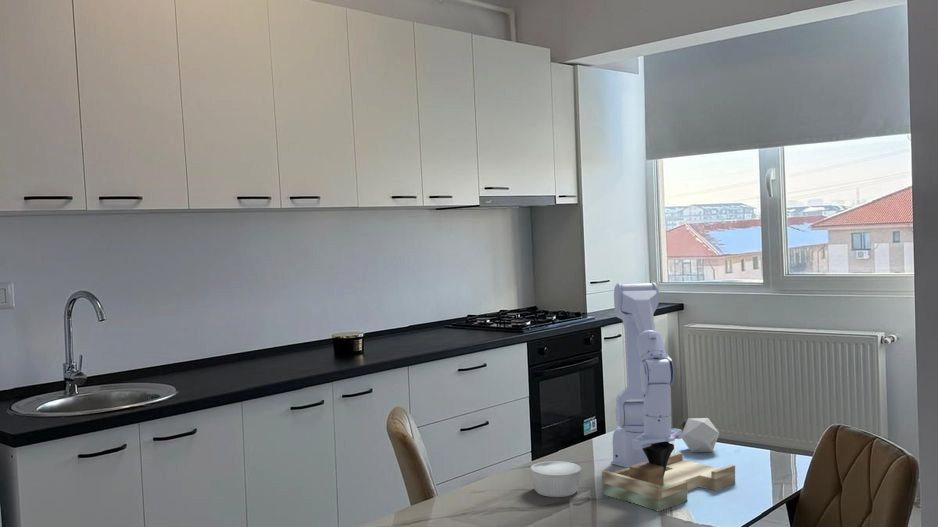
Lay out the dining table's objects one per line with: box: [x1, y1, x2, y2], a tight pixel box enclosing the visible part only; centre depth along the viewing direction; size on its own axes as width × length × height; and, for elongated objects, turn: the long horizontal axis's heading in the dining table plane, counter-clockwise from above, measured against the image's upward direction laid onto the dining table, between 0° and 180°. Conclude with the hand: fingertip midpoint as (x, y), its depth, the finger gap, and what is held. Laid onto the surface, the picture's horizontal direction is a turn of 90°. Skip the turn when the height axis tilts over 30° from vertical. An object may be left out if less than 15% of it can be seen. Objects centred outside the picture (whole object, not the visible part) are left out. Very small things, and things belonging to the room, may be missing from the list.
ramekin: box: [529, 460, 582, 498], centre depth 180 cm, size 11×11×5 cm
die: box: [681, 417, 720, 453], centre depth 210 cm, size 8×9×10 cm
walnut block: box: [630, 462, 664, 486], centre depth 174 cm, size 5×5×4 cm
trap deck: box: [601, 452, 736, 512], centre depth 179 cm, size 15×27×5 cm, turn 129°
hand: (658, 477), depth 177 cm, fingers closed
